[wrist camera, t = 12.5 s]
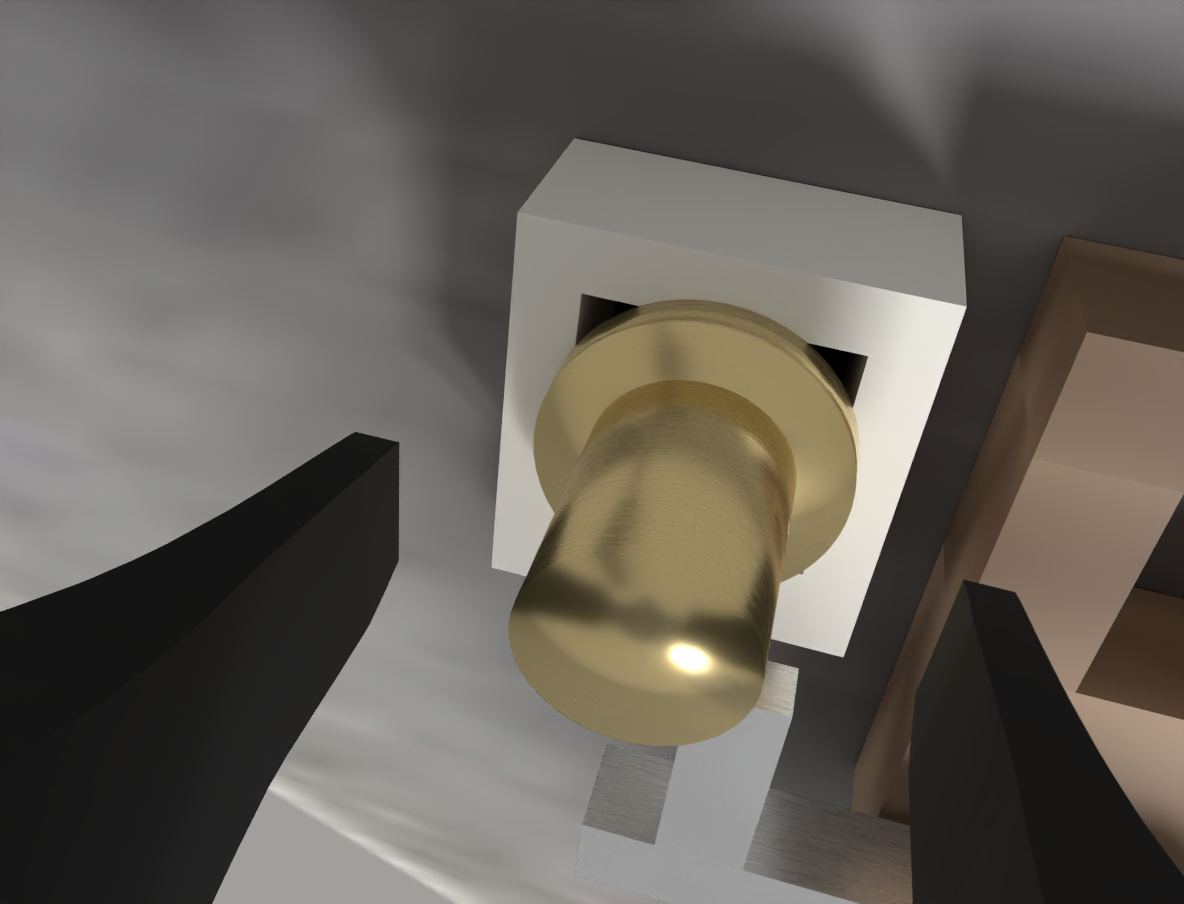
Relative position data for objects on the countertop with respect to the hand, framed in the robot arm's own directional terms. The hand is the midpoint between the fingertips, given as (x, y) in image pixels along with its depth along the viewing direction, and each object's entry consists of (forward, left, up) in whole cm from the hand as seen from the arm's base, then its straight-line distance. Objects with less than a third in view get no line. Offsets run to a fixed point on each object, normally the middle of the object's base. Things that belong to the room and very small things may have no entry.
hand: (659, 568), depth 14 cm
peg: (0, 0, -3) cm, 3 cm away
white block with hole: (0, 0, -6) cm, 6 cm away
